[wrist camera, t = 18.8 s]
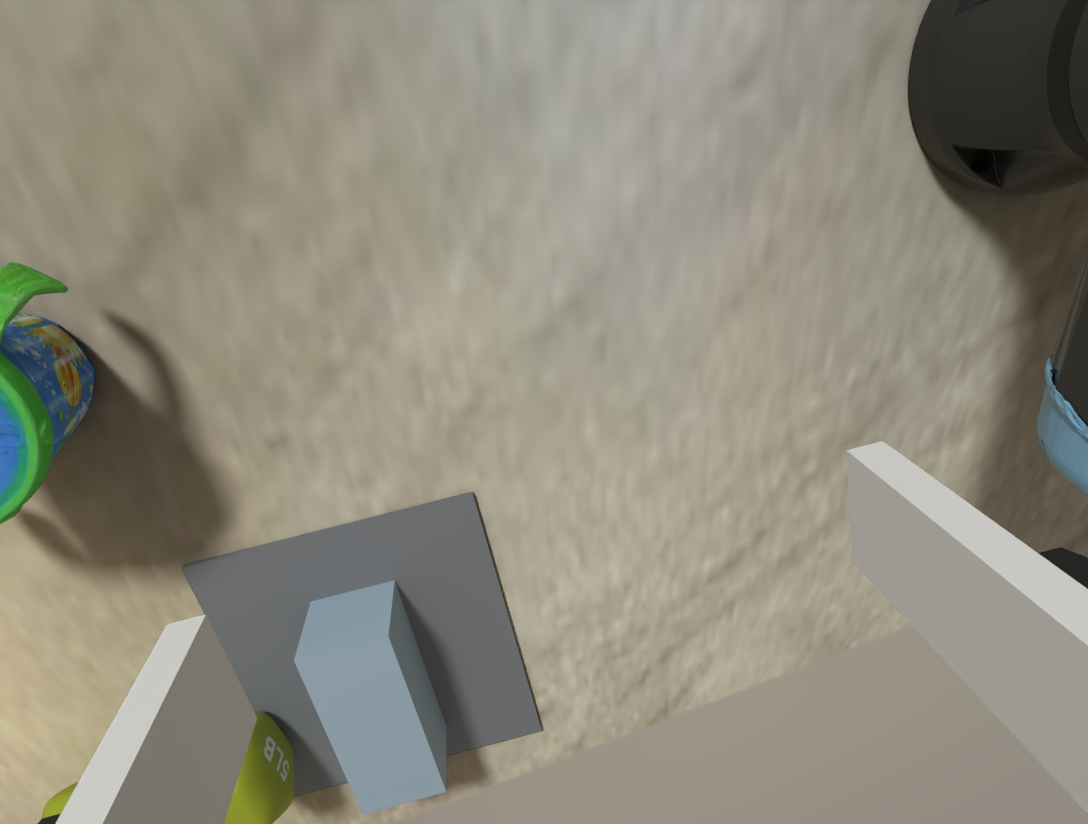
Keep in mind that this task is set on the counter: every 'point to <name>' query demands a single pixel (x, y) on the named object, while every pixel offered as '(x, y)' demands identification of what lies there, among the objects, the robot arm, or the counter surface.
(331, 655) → the block
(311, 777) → the mat
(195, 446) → the counter surface
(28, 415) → the snack cup
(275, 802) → the dumbbell
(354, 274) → the counter surface
